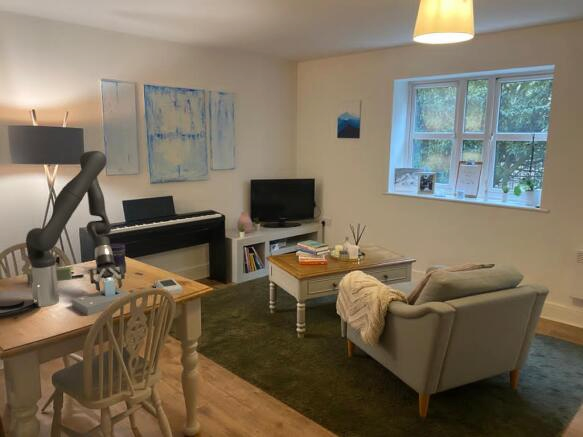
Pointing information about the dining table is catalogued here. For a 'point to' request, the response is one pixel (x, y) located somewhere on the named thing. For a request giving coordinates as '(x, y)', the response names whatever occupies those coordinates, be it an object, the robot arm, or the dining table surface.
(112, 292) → the pale blue tall block
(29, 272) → the handheld radio
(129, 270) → the dining table surface
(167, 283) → the keypad
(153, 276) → the dining table surface
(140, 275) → the dining table surface
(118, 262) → the storage jar
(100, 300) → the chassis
